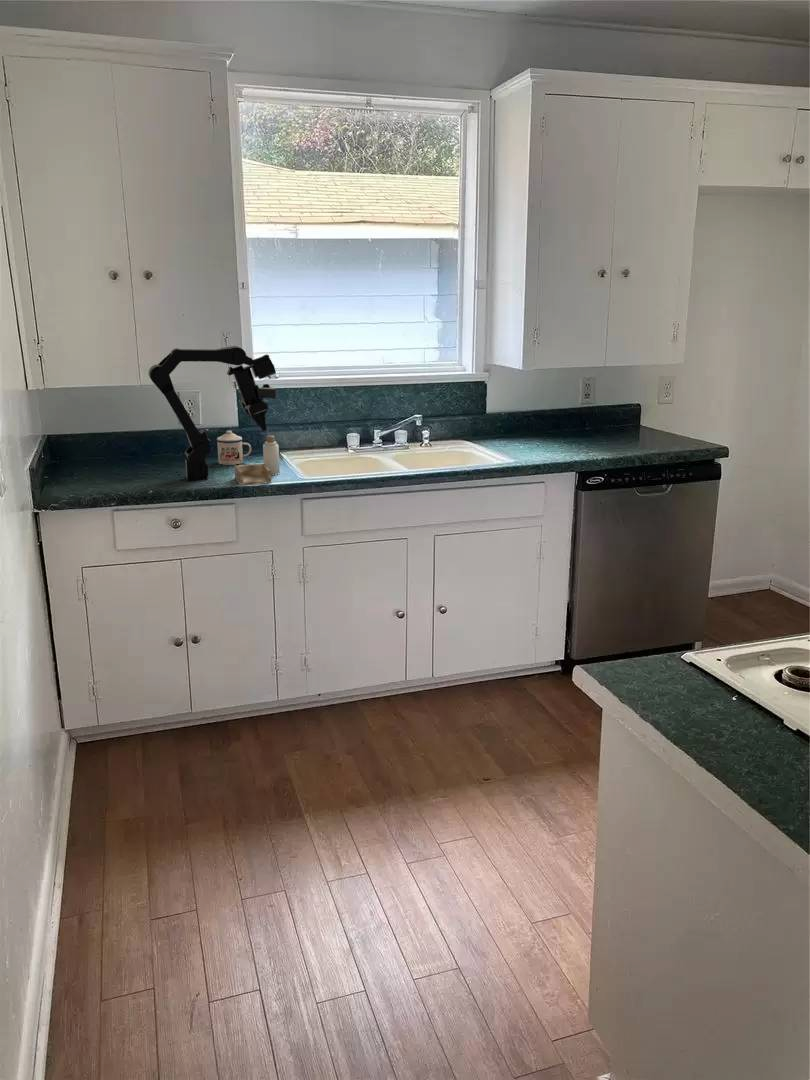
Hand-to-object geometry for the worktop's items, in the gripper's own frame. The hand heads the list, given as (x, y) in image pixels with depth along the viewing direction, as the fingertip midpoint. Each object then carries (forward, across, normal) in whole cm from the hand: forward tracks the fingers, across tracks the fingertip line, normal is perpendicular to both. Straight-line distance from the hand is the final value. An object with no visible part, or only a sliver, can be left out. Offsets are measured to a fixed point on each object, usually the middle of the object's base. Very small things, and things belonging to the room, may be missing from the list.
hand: (262, 428), depth 279 cm
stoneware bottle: (+16, 0, +2) cm, 16 cm away
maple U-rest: (+13, -9, +10) cm, 19 cm away
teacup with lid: (+13, +20, +11) cm, 26 cm away
